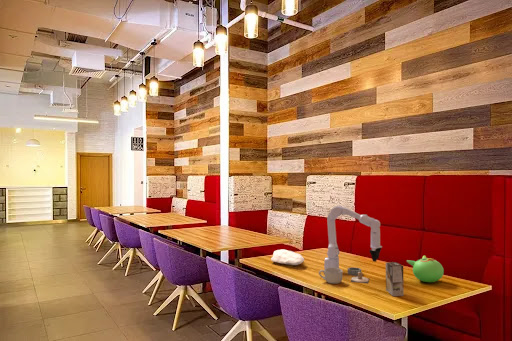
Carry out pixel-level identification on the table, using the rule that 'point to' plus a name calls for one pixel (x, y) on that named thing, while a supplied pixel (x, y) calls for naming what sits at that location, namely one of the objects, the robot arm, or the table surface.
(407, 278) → the table surface
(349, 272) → the bowl
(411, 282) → the table surface
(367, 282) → the mat
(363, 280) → the lid
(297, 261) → the crumpled cloth
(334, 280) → the teacup
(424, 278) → the green teapot
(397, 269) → the coffee box
